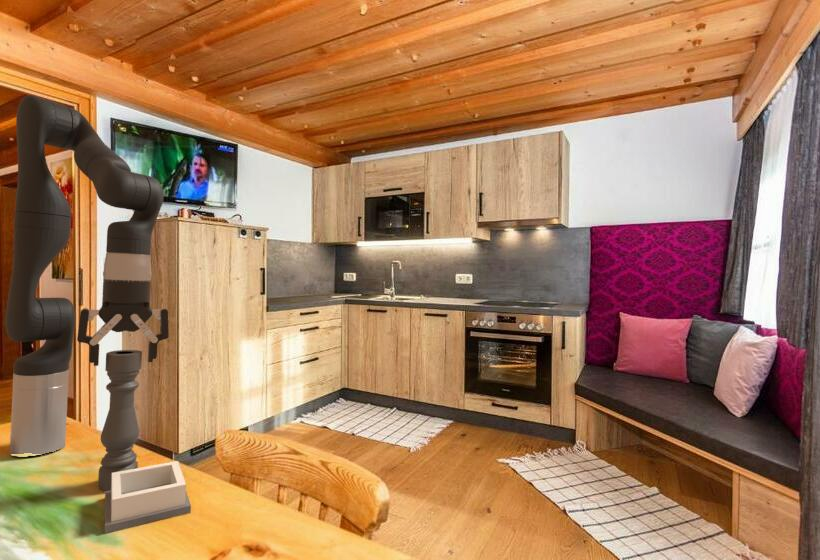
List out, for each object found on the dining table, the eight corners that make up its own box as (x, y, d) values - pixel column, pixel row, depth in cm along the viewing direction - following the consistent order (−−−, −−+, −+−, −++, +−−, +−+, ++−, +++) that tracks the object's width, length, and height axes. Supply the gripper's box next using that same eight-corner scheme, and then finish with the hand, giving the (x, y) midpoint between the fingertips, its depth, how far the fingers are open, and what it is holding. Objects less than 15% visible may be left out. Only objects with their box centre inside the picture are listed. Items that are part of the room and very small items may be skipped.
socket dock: (105, 498, 76) (106, 472, 76) (180, 482, 83) (181, 458, 83) (104, 533, 67) (106, 503, 67) (190, 512, 74) (192, 485, 73)
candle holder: (90, 485, 80) (97, 352, 80) (125, 473, 86) (131, 348, 86) (109, 495, 77) (116, 357, 77) (144, 481, 83) (150, 352, 83)
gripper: (168, 278, 88) (164, 357, 89) (81, 275, 80) (77, 362, 80) (172, 280, 82) (168, 364, 82) (79, 277, 74) (75, 370, 74)
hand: (123, 363), depth 81 cm, fingers open, 8 cm apart
